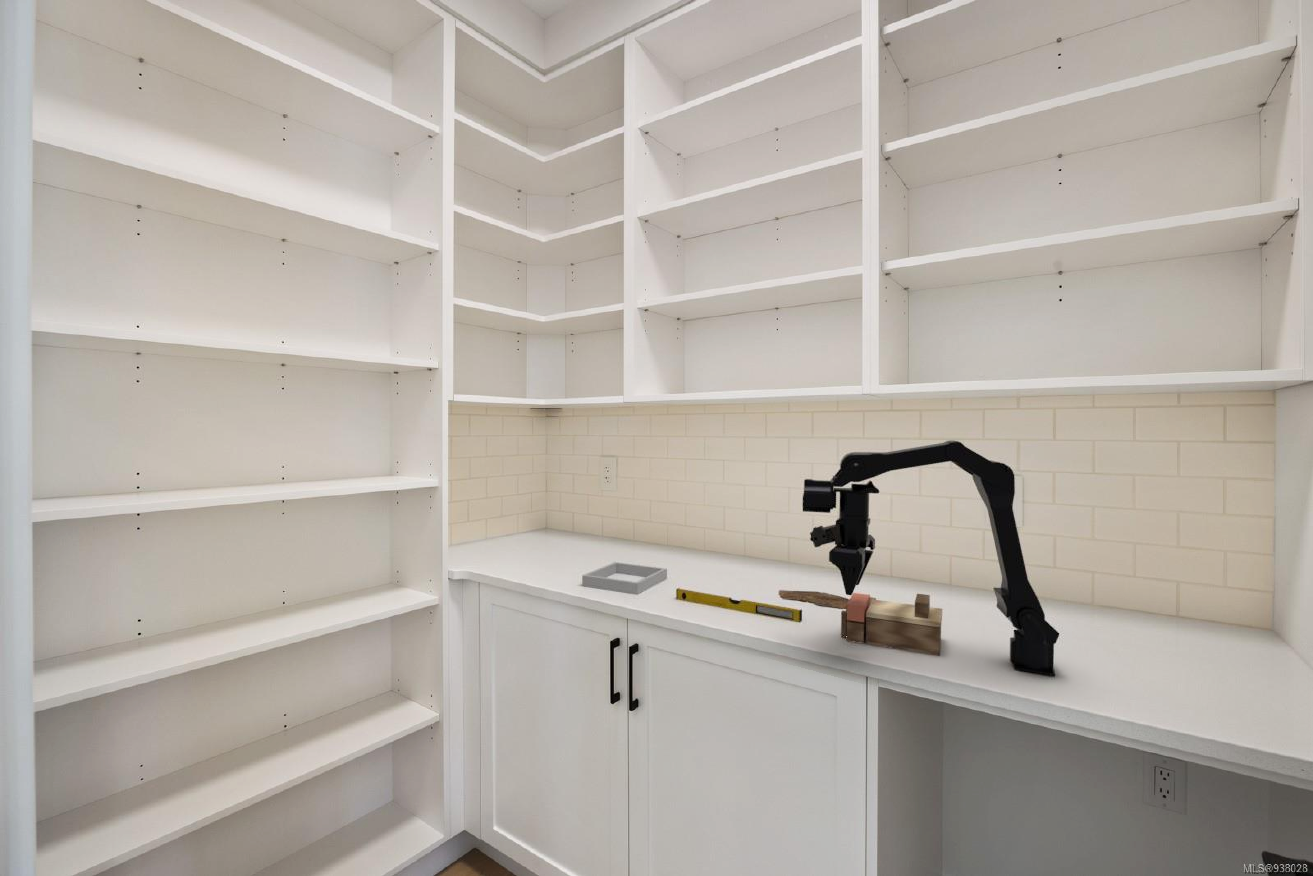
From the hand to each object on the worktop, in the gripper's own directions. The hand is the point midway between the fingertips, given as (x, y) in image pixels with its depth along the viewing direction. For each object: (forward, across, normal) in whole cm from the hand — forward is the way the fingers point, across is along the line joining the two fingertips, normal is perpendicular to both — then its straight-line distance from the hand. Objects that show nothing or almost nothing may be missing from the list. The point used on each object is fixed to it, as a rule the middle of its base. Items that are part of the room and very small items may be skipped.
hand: (852, 589), depth 121 cm
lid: (+6, -10, +9) cm, 15 cm away
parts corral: (+13, -22, -67) cm, 72 cm away
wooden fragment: (+13, -31, -12) cm, 36 cm away
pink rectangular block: (+8, -9, 0) cm, 12 cm away
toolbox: (+12, -15, +6) cm, 20 cm away
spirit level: (+13, -13, -30) cm, 35 cm away
